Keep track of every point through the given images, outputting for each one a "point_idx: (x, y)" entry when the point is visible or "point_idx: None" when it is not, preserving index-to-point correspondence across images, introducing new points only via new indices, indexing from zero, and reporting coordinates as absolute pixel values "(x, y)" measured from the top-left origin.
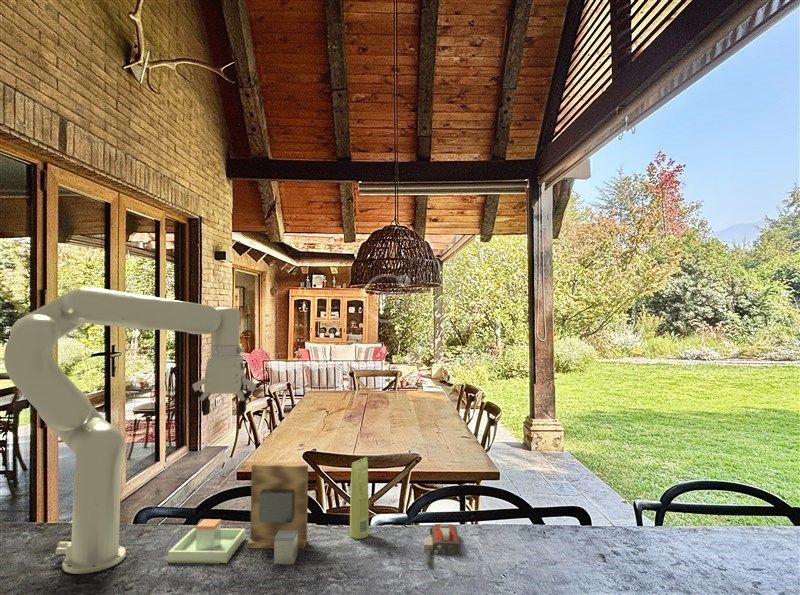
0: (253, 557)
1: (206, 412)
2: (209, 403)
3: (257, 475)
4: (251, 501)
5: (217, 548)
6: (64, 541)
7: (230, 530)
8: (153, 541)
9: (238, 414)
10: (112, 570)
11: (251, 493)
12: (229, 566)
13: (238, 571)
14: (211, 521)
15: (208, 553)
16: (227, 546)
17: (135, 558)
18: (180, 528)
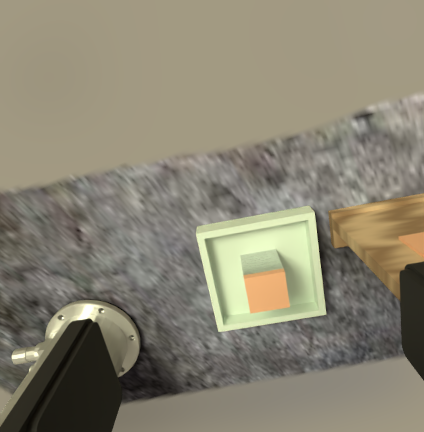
0: (359, 274)
1: (111, 392)
2: (61, 403)
3: None
4: (366, 263)
5: None
6: (18, 358)
7: (282, 224)
8: (129, 255)
9: (411, 357)
10: (148, 354)
11: (375, 273)
12: (330, 310)
13: (353, 320)
14: (268, 285)
15: (292, 319)
16: (294, 255)
17: (151, 317)
18: (135, 187)
